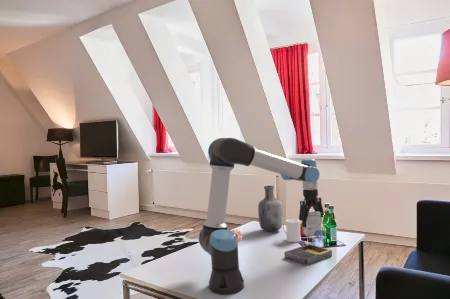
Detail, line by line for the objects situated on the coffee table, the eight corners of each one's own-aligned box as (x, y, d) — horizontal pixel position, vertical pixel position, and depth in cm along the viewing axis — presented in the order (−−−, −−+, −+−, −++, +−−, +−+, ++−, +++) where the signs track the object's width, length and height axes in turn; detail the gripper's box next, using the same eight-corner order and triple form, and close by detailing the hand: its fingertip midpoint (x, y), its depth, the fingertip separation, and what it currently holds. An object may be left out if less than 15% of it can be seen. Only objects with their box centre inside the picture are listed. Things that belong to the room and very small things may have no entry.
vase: (268, 235, 219) (266, 189, 218) (254, 230, 233) (252, 186, 232) (288, 231, 227) (286, 186, 226) (273, 226, 241) (271, 183, 240)
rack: (306, 265, 166) (306, 258, 166) (284, 257, 179) (284, 251, 179) (332, 256, 177) (331, 249, 177) (309, 249, 189) (309, 243, 189)
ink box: (320, 232, 182) (319, 210, 182) (321, 235, 177) (320, 212, 177) (303, 233, 183) (302, 211, 182) (305, 235, 178) (303, 213, 177)
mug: (279, 239, 211) (278, 219, 210) (289, 236, 216) (287, 217, 216) (294, 243, 201) (293, 223, 201) (304, 239, 207) (302, 220, 206)
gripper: (300, 192, 170) (303, 237, 171) (329, 186, 182) (332, 228, 183) (289, 190, 176) (292, 234, 177) (318, 185, 188) (320, 225, 189)
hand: (312, 231), depth 180 cm, fingers closed on ink box, 9 cm apart
